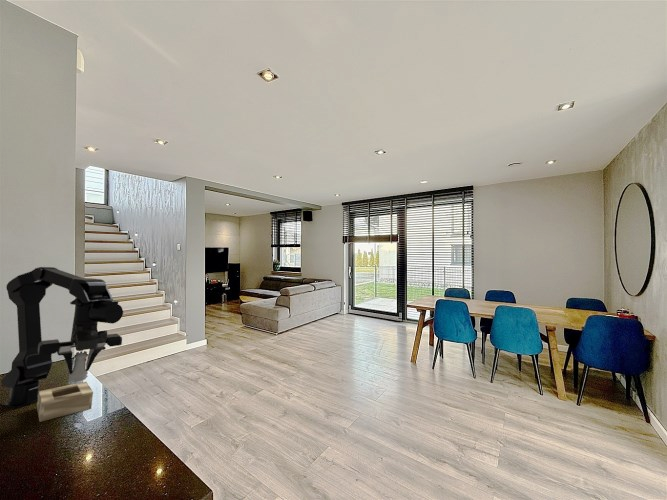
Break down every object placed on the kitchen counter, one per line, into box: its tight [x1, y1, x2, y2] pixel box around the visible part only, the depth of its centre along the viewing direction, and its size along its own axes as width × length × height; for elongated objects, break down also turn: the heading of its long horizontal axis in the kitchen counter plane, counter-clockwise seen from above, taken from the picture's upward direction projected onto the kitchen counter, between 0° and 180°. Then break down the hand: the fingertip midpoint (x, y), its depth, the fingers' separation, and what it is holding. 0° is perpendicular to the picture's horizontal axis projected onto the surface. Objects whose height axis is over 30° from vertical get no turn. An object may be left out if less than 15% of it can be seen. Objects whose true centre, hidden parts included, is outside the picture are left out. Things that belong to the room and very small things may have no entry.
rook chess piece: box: [67, 350, 89, 383], centre depth 85 cm, size 4×4×8 cm
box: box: [36, 381, 94, 423], centre depth 85 cm, size 11×11×5 cm
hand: (78, 372), depth 85 cm, fingers closed on rook chess piece, 3 cm apart
